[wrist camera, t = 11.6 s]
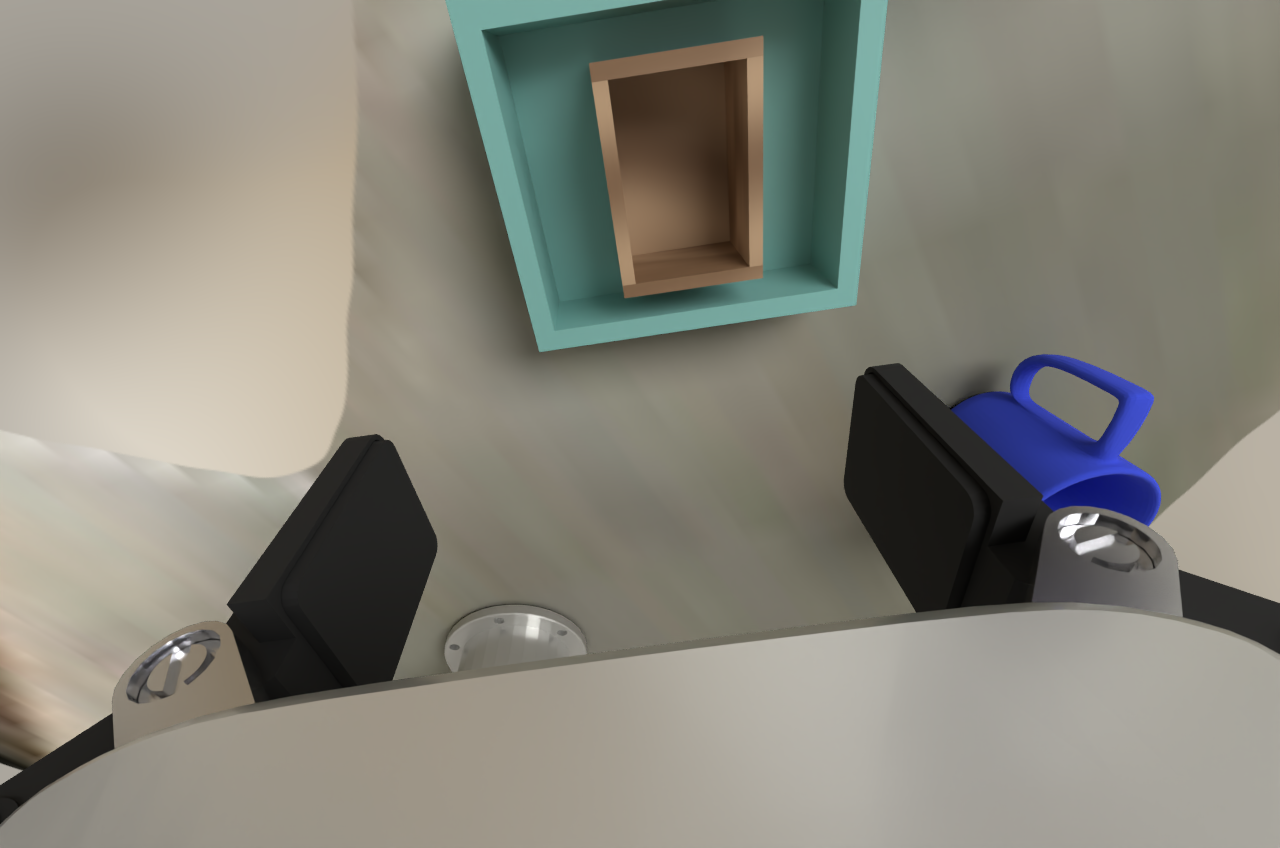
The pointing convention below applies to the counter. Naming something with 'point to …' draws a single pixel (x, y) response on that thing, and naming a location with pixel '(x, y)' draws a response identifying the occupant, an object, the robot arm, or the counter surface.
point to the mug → (1068, 442)
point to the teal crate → (574, 167)
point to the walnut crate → (684, 164)
